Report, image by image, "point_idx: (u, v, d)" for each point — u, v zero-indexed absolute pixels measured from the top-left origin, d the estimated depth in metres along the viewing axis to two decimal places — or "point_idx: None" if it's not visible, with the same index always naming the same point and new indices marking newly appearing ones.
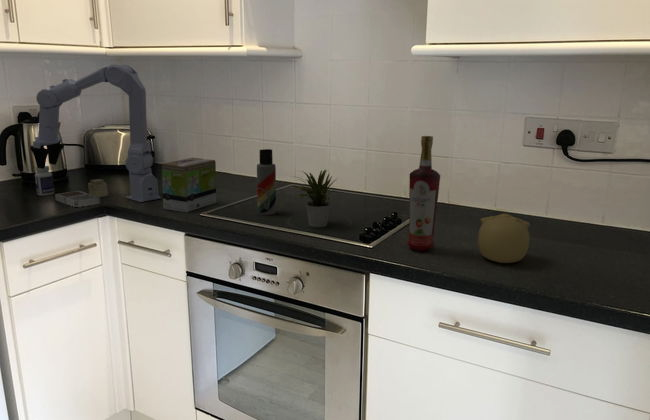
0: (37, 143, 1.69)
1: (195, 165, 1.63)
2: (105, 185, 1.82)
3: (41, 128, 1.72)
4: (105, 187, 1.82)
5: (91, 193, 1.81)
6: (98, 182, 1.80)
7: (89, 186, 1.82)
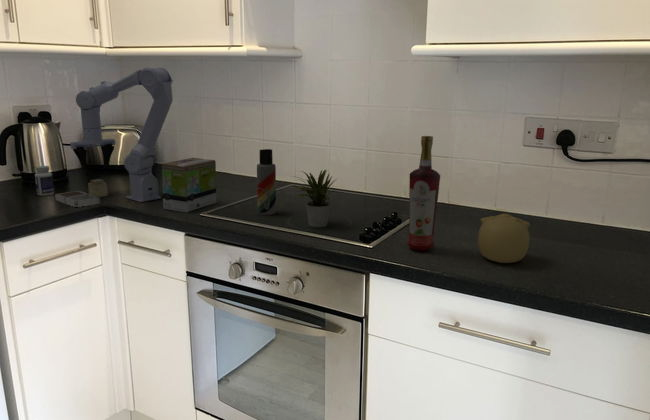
0: (72, 144, 1.73)
1: (195, 165, 1.63)
2: (105, 185, 1.82)
3: None
4: (105, 187, 1.82)
5: (91, 193, 1.81)
6: (98, 182, 1.80)
7: (89, 186, 1.82)
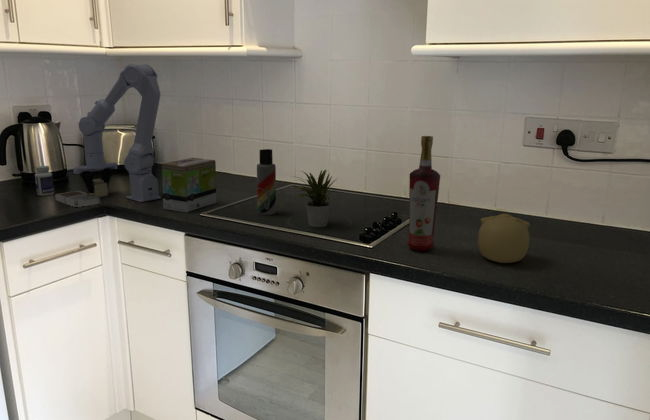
0: (75, 169, 1.75)
1: (195, 165, 1.63)
2: (105, 185, 1.82)
3: (85, 155, 1.78)
4: (105, 187, 1.82)
5: (91, 193, 1.81)
6: (98, 182, 1.80)
7: None
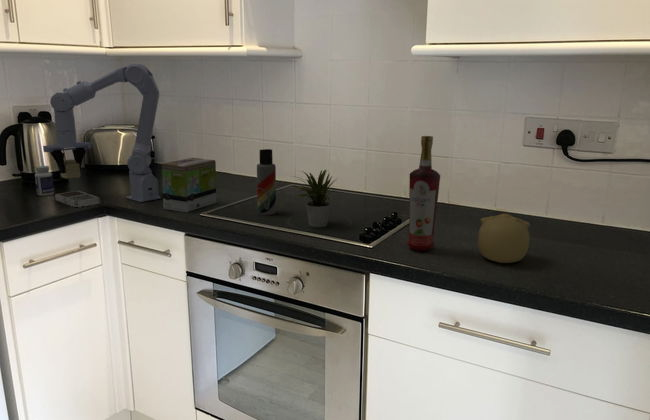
0: (44, 147, 1.67)
1: (195, 165, 1.63)
2: (77, 165, 1.74)
3: (56, 132, 1.70)
4: (77, 167, 1.74)
5: (63, 174, 1.73)
6: (70, 162, 1.72)
7: None
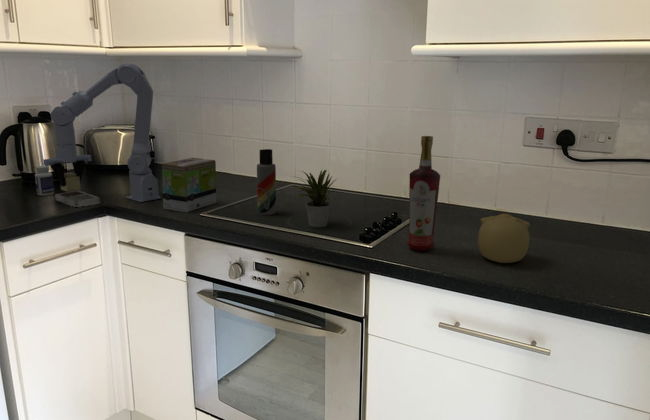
0: (45, 161, 1.67)
1: (195, 165, 1.63)
2: (77, 178, 1.75)
3: None
4: (77, 180, 1.75)
5: (63, 187, 1.74)
6: (70, 175, 1.73)
7: None
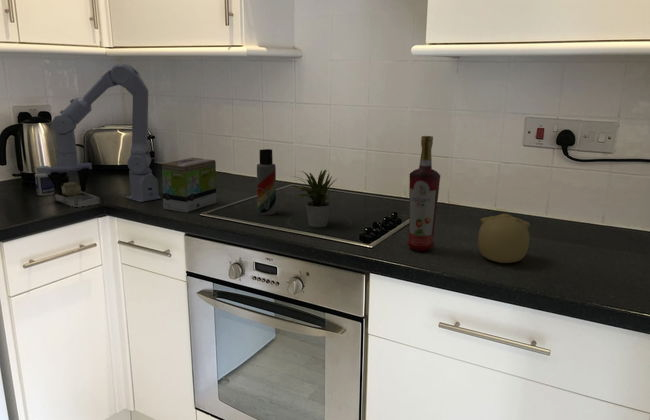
0: (46, 169, 1.68)
1: (195, 165, 1.63)
2: (79, 188, 1.75)
3: None
4: (79, 190, 1.75)
5: None
6: (71, 185, 1.74)
7: None
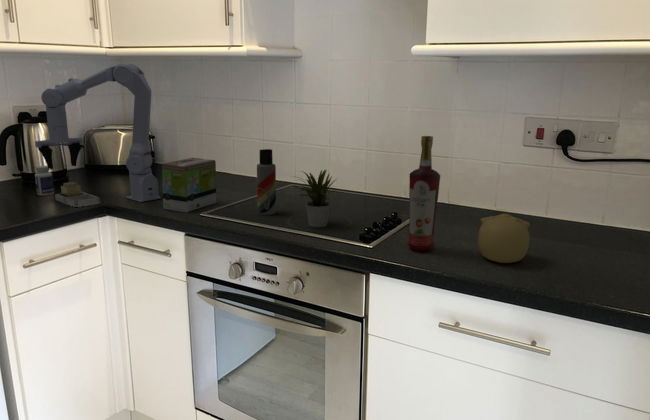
0: (36, 142, 1.69)
1: (195, 165, 1.63)
2: (79, 188, 1.75)
3: (48, 128, 1.72)
4: (79, 190, 1.75)
5: None
6: (71, 185, 1.74)
7: (61, 189, 1.75)
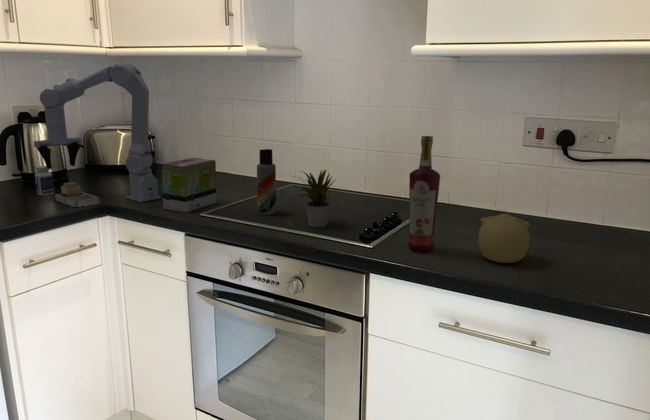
0: (35, 142, 1.70)
1: (195, 165, 1.63)
2: (79, 188, 1.75)
3: None
4: (79, 190, 1.75)
5: None
6: (71, 185, 1.74)
7: (61, 189, 1.75)
